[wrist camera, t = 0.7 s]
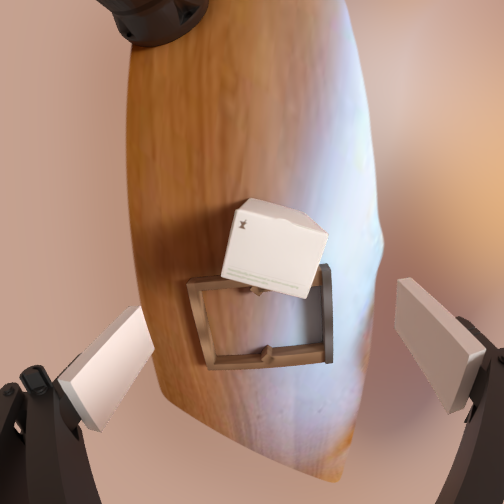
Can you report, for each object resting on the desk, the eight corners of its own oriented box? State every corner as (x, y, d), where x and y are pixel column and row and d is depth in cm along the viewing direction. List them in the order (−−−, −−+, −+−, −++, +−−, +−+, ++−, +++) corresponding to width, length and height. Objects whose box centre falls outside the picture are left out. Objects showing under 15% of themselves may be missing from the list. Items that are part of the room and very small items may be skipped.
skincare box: (237, 239, 40) (214, 278, 25) (249, 193, 38) (232, 204, 23) (295, 255, 40) (306, 304, 25) (309, 210, 38) (330, 233, 23)
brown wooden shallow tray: (190, 277, 42) (185, 285, 39) (327, 263, 39) (330, 270, 37) (211, 361, 46) (207, 372, 43) (330, 352, 43) (333, 362, 40)
